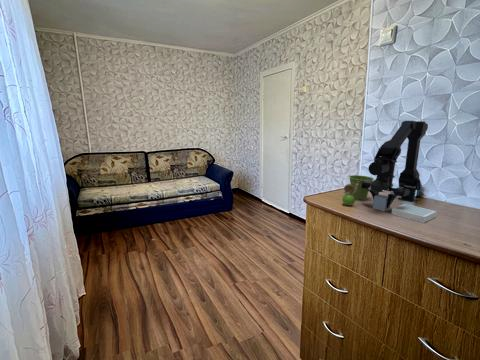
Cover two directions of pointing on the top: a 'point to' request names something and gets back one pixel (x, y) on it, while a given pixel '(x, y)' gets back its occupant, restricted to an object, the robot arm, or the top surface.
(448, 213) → the top surface
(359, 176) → the plant pot
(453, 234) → the top surface
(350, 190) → the snail figurine
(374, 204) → the block
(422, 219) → the base
